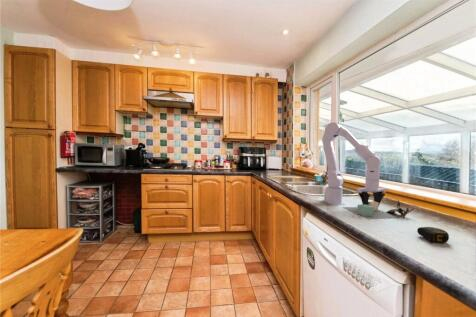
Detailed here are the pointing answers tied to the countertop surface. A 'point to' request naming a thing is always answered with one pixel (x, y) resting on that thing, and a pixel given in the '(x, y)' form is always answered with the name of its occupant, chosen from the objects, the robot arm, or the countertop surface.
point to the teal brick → (365, 210)
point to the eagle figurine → (400, 210)
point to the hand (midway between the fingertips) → (370, 206)
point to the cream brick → (373, 204)
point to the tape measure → (433, 234)
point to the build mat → (376, 214)
